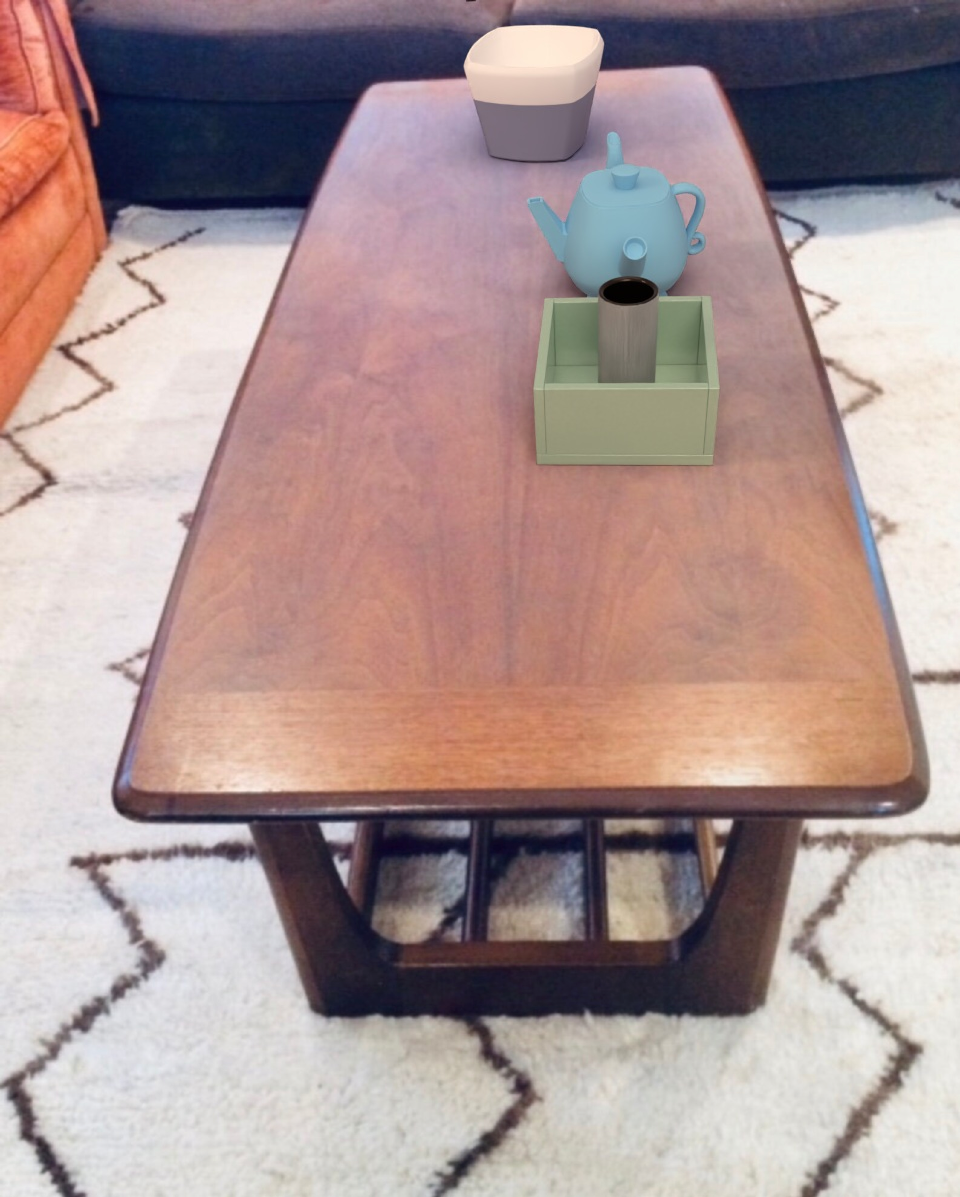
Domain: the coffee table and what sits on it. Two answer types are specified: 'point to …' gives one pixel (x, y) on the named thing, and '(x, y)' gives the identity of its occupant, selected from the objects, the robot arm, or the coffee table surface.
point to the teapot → (623, 226)
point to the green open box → (626, 390)
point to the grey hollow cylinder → (627, 330)
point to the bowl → (534, 89)
